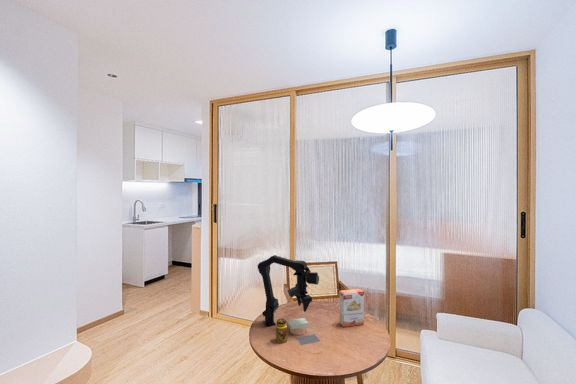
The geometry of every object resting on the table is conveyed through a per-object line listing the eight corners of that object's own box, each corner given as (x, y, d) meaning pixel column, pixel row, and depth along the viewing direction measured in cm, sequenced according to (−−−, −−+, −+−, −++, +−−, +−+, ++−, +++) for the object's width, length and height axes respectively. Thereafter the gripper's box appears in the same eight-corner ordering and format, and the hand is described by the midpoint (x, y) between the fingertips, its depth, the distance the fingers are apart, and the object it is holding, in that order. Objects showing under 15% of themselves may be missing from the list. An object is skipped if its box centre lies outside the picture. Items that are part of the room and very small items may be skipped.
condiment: (283, 346, 153) (283, 324, 153) (270, 342, 157) (270, 321, 157) (290, 340, 159) (290, 318, 159) (277, 336, 163) (277, 315, 163)
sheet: (287, 323, 170) (287, 320, 170) (304, 321, 173) (304, 317, 173) (291, 329, 163) (291, 325, 163) (308, 326, 166) (308, 322, 166)
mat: (295, 339, 160) (295, 337, 160) (314, 335, 164) (314, 334, 164) (301, 346, 152) (301, 345, 152) (320, 342, 156) (320, 340, 156)
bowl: (288, 330, 171) (288, 323, 171) (302, 327, 174) (302, 320, 174) (293, 337, 162) (293, 329, 162) (308, 334, 165) (308, 327, 165)
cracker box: (343, 328, 172) (343, 293, 172) (339, 323, 178) (339, 290, 178) (364, 324, 176) (364, 291, 176) (359, 320, 182) (359, 287, 182)
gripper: (284, 279, 177) (284, 304, 177) (293, 289, 160) (294, 317, 160) (301, 277, 181) (301, 302, 181) (312, 286, 163) (312, 314, 163)
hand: (302, 308), depth 171 cm, fingers open, 9 cm apart
